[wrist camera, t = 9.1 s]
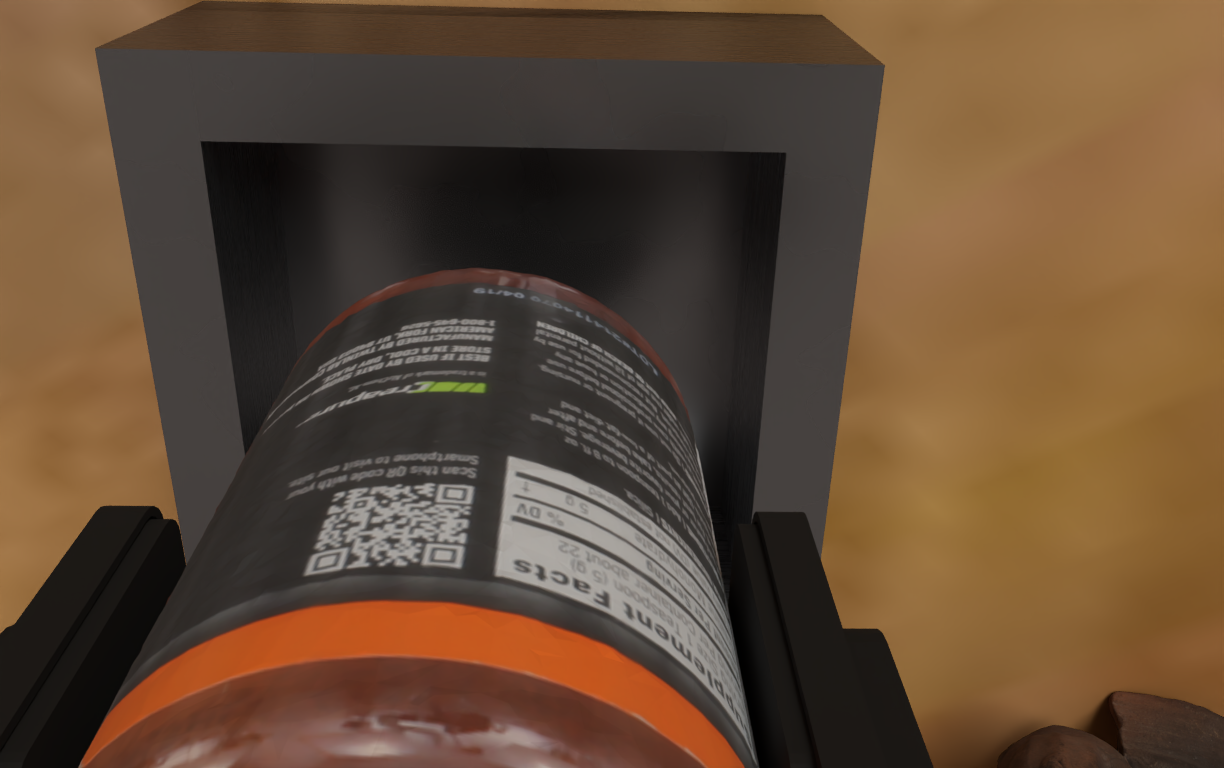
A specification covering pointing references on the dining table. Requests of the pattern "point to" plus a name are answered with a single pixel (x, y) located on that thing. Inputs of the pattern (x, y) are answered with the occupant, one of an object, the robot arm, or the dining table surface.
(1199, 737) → the pottery mug
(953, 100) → the dining table surface
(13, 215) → the dining table surface
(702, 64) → the can holder
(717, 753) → the supplement bottle
